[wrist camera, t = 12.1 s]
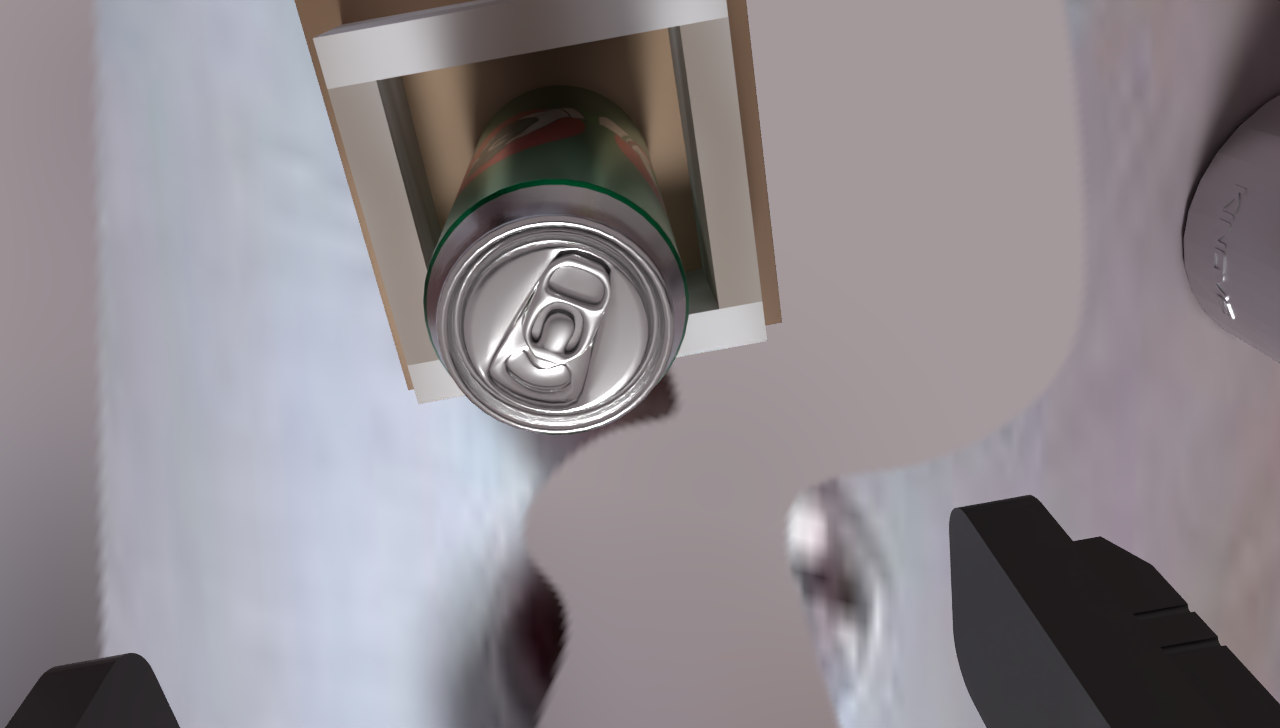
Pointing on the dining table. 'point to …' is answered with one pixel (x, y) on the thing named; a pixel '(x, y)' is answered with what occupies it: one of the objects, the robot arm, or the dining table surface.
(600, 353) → the soda can
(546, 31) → the box
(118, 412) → the dining table surface
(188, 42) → the dining table surface
